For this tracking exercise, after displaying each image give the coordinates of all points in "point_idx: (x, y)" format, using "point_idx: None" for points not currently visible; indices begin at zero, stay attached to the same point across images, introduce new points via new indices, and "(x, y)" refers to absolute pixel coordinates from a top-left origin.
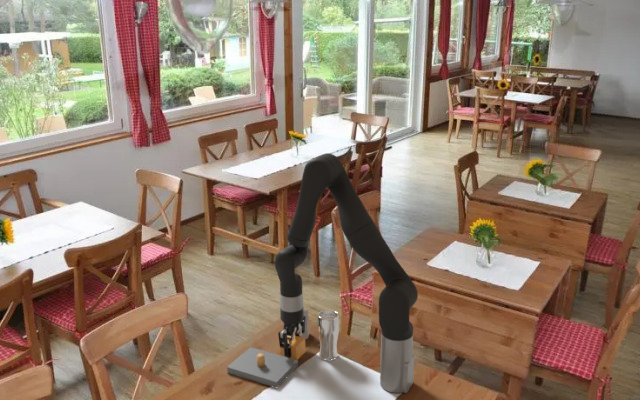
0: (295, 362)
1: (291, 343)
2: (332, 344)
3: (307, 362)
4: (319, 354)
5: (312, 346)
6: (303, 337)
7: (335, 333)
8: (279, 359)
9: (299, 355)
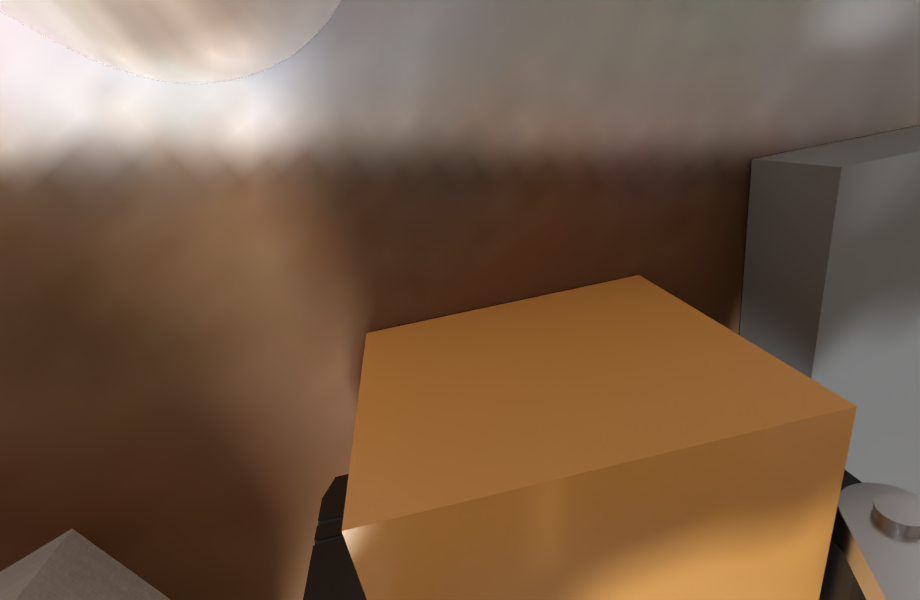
0: (917, 161)
1: (868, 570)
2: None
3: (599, 100)
4: (310, 17)
5: (165, 350)
6: (110, 585)
7: None
8: (892, 416)
9: (565, 306)
